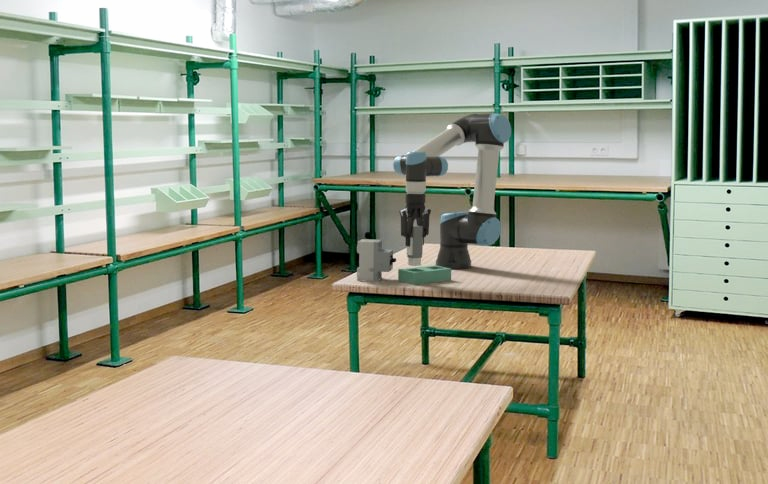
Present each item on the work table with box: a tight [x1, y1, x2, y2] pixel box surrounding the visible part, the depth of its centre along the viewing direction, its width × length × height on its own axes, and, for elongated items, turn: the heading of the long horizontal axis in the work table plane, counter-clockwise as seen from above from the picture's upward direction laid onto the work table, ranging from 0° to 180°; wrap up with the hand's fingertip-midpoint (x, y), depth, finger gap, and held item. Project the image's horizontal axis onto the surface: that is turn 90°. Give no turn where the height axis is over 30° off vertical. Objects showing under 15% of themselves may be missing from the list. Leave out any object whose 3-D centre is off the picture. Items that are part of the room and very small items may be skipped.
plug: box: [406, 224, 423, 267], centre depth 325 cm, size 4×4×15 cm
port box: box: [397, 264, 452, 286], centre depth 330 cm, size 18×10×4 cm, turn 125°
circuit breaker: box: [356, 238, 397, 282], centre depth 331 cm, size 8×14×15 cm, turn 78°
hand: (414, 254), depth 326 cm, fingers closed on plug, 4 cm apart
